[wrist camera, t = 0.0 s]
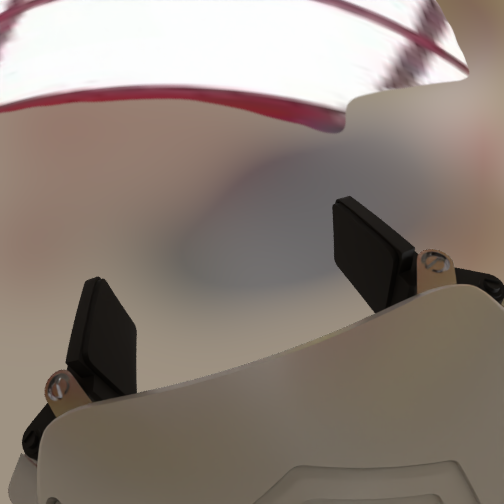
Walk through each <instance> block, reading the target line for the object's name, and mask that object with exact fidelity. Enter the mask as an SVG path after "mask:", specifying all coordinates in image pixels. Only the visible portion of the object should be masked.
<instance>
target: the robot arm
mask: <svg viewBox="0 0 504 504" xmlns="http://www.w3.org/2000/svg"><path fill="white" fill-rule="evenodd" d="M332 209H333V230H334V259H335V262H336V264H337V266H338V267H339V268H340V270H341V271H342V272H343V273H344V275H345V276H346V277H347V278H348V279H349V281H350V282H351V283H352V285H353V286H354V287H355V288H356V290H357V291H358V292H359V293H360V295H361V296H362V297H363V298H364V300H365V301H366V302H367V304H368V305H369V306H370V307H371V309H372V310H373V311H374V313H375V314H373V315H371V316H369V317H366V318H364V319H362V320H360V321H357V322H355V323H353V324H351V325H348V326H346V327H344V328H342V329H339V330H337V331H334V332H332V333H329V334H327V335H324V336H322V337H319V338H317V339H314V340H312V341H309V342H307V343H304V344H301V345H299V346H296V347H293V348H291V349H288V350H285V351H283V352H280V353H277V354H274V355H271V356H268V357H266V358H263V359H260V360H257V361H254V362H251V363H248V364H244V365H241V366H238V367H235V368H232V369H228V370H225V371H222V372H219V373H215V374H211V375H208V376H205V377H201V378H197V379H194V380H190V381H186V382H182V383H178V384H175V385H171V386H167V387H162V388H158V389H153V390H149V391H144V392H140V393H137V384H136V336H137V330H136V327H135V324H134V323H133V321H132V320H131V318H130V317H129V315H128V314H127V313H126V311H125V309H124V308H123V306H122V305H121V304H120V302H119V300H118V299H117V297H116V296H115V294H114V293H113V291H112V289H111V288H110V286H109V285H108V283H107V282H106V280H105V279H101V278H100V277H95V278H92V279H89V280H87V281H86V282H85V284H84V287H83V291H82V294H81V298H80V301H79V305H78V309H77V313H76V316H75V320H74V325H73V329H72V334H71V338H70V342H69V347H68V352H67V357H66V364H67V365H68V367H67V370H59V371H57V372H55V373H54V374H53V375H52V376H51V377H50V378H49V379H48V381H47V383H46V386H45V397H46V400H47V402H48V403H47V404H46V406H45V407H44V408H43V409H42V410H41V412H40V413H39V414H38V415H37V416H36V418H35V419H34V420H33V421H32V423H31V424H30V425H29V426H28V428H27V429H26V431H25V432H24V435H23V439H22V446H23V450H24V452H25V455H24V454H22V453H21V455H20V458H19V460H18V463H17V465H16V468H15V470H14V473H13V476H12V478H11V481H10V484H9V489H8V493H9V498H10V500H11V502H12V503H13V504H504V285H503V283H502V282H501V281H500V280H499V279H498V278H496V277H495V276H493V275H490V274H485V273H480V272H475V271H470V270H465V269H460V268H455V267H454V263H453V261H452V259H451V258H450V256H449V255H447V254H446V253H444V252H442V251H440V250H436V249H426V250H423V251H421V252H420V253H419V254H417V253H416V252H415V247H413V246H412V245H411V244H410V243H409V242H408V241H406V240H405V239H404V238H403V237H401V235H399V234H398V233H397V232H396V231H395V230H393V229H392V228H391V227H390V226H388V225H387V224H386V223H385V222H383V221H382V220H381V219H380V218H378V217H377V216H376V215H374V214H373V213H372V212H371V211H369V210H368V209H367V208H365V207H364V206H363V205H362V204H360V203H359V202H357V201H356V200H355V199H353V198H352V197H351V196H348V197H344V198H340V199H337V200H336V203H335V204H334V205H333V207H332Z"/></svg>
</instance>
